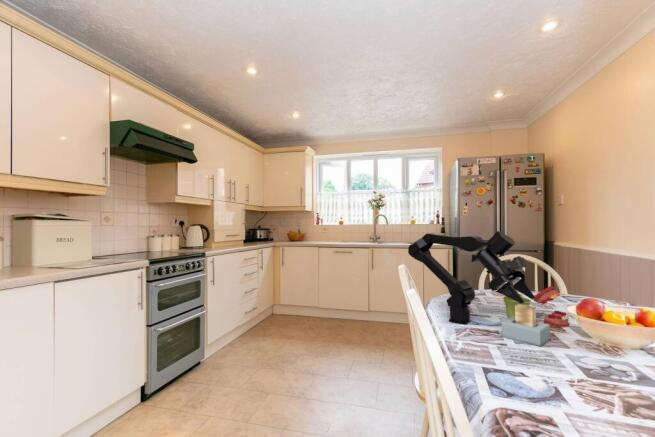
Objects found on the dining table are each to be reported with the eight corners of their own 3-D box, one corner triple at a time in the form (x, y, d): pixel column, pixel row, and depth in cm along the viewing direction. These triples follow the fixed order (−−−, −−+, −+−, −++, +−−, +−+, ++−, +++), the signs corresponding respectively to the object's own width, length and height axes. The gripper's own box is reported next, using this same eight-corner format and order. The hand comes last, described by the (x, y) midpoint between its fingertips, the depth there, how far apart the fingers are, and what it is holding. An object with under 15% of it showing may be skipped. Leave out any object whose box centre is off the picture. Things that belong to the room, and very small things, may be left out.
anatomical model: (571, 328, 107) (551, 286, 111) (546, 331, 112) (528, 291, 117) (577, 322, 113) (558, 283, 118) (554, 325, 119) (536, 288, 124)
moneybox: (501, 336, 101) (501, 321, 101) (512, 330, 107) (512, 316, 107) (540, 346, 92) (540, 330, 93) (550, 339, 98) (549, 324, 98)
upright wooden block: (515, 335, 101) (515, 305, 101) (519, 333, 102) (518, 304, 103) (532, 340, 97) (532, 308, 97) (536, 338, 98) (535, 307, 99)
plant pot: (536, 326, 112) (535, 302, 112) (508, 324, 113) (507, 301, 114) (525, 318, 121) (524, 296, 121) (499, 317, 123) (498, 295, 123)
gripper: (497, 250, 98) (538, 289, 89) (520, 247, 109) (558, 282, 100) (474, 271, 104) (509, 310, 95) (497, 266, 115) (531, 301, 106)
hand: (528, 300), depth 99 cm, fingers open, 9 cm apart
